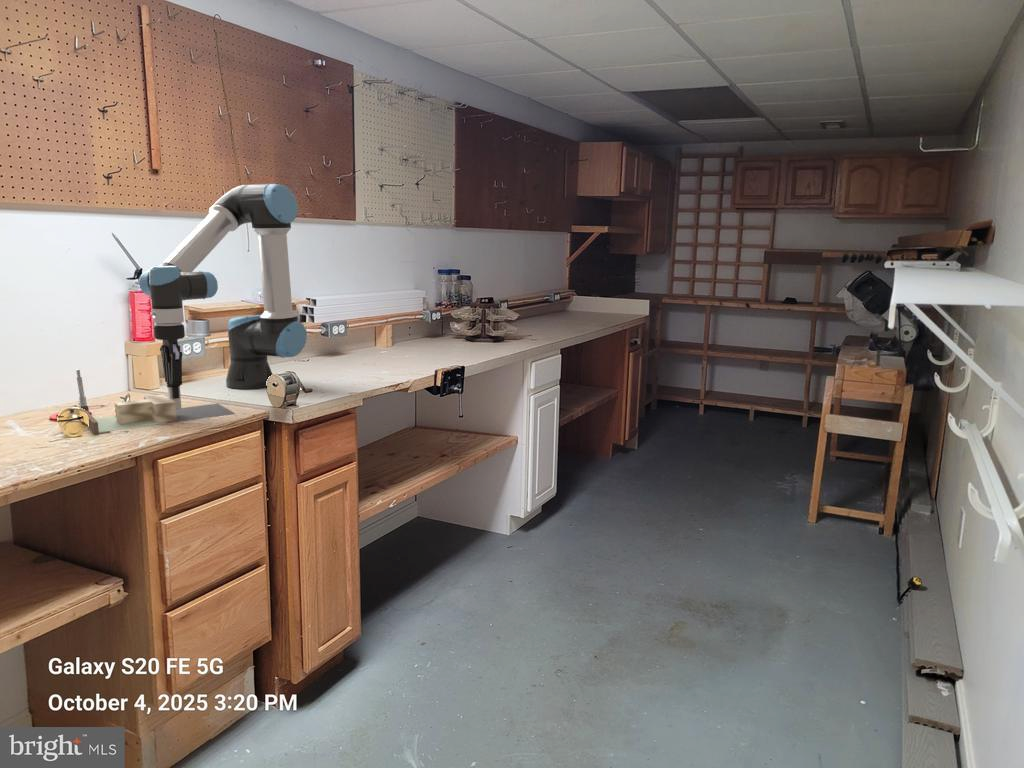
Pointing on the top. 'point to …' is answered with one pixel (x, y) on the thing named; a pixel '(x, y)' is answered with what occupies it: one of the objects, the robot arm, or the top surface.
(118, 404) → the t block
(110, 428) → the mat
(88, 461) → the top surface
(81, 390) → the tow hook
